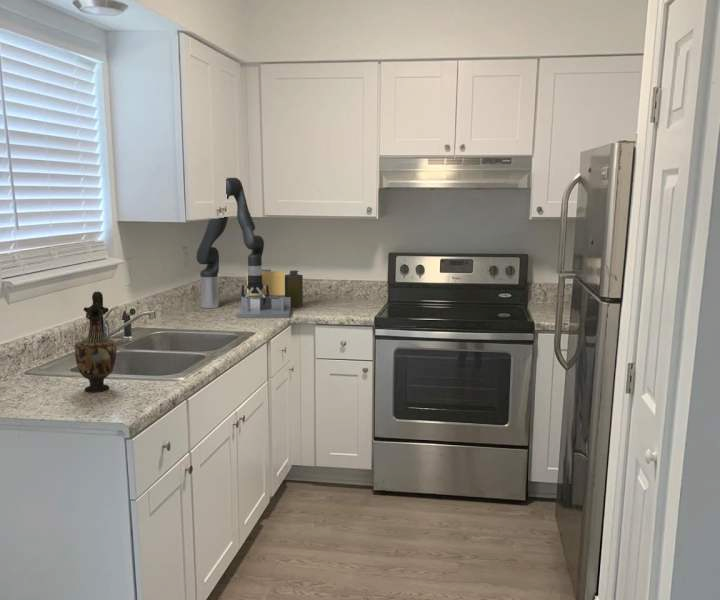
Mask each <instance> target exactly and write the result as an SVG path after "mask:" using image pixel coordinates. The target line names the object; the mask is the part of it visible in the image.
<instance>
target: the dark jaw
mask: <svg viewBox="0 0 720 600" xmlns="http://www.w3.org/2000/svg"><path fill="white" fill-rule="evenodd" d="M271 303H272V311H276V310H281V298H272V299H271Z"/></svg>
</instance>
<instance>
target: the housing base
mask: <svg viewBox="0 0 720 600" xmlns="http://www.w3.org/2000/svg"><path fill="white" fill-rule="evenodd" d="M251 298H261V310H260V311H250V299H251ZM272 298H281V310H276V311H272V303H271V299H272ZM240 300H241V307H240V310H239V311H238V312H237V314H236V318H237V319H289V318H290V315H291V308H292V307H291V297H285V296H269V297H266V303H265V305H263V296H248V298H244V297H242V296H241V298H240Z"/></svg>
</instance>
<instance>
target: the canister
mask: <svg viewBox="0 0 720 600" xmlns="http://www.w3.org/2000/svg"><path fill="white" fill-rule="evenodd" d="M298 272H299V270H289V272H288V273H289V274H285V296H284V297H291V308H300V307H303V306H304V303H303V302H304V301H303V300H304V299H303V297H304V294H303V293H304V289H303V288H304V287H303V276H304V275H303V274H298Z"/></svg>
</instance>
